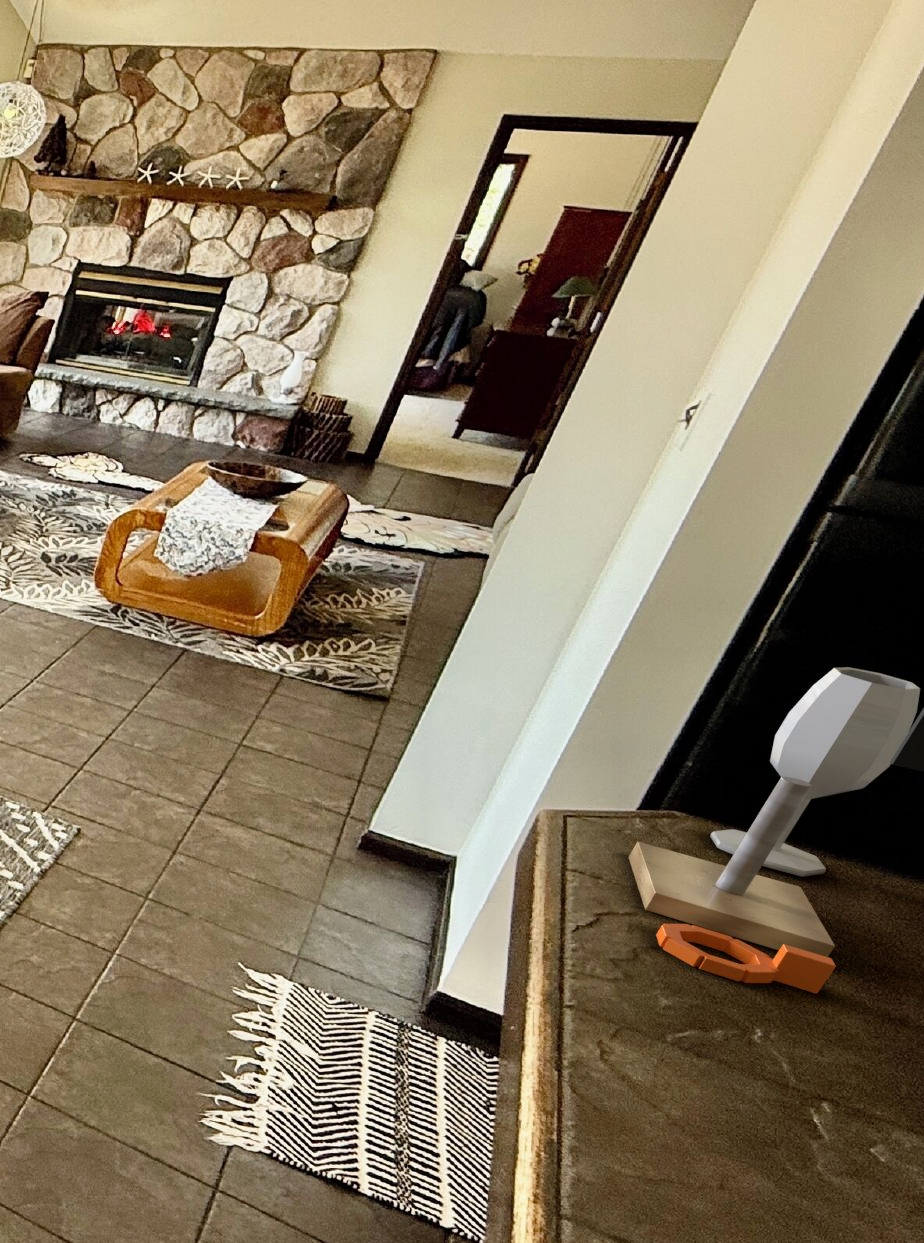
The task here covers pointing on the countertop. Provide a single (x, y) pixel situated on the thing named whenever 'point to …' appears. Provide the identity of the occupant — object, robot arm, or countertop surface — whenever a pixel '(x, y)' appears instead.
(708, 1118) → the countertop surface
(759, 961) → the ring
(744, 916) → the board
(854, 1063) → the countertop surface
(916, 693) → the wineglass
